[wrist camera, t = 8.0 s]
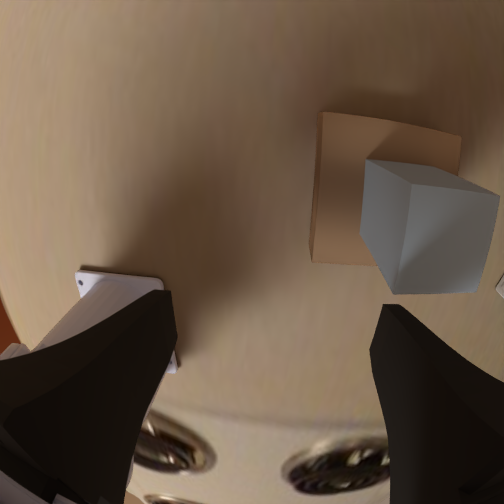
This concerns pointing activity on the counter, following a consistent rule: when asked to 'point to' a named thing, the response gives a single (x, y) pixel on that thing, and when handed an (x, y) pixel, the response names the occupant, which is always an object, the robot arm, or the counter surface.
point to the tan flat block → (363, 176)
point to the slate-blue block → (426, 227)
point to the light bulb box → (500, 287)
